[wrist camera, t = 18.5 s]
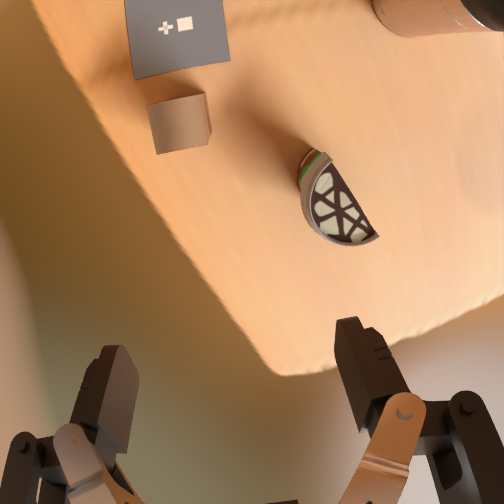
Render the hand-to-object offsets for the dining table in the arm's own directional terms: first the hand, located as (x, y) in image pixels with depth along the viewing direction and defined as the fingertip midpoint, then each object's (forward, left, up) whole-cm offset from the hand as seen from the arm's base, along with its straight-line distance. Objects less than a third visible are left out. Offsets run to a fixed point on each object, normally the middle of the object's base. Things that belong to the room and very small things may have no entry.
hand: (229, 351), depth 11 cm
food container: (-11, +6, -32) cm, 35 cm away
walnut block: (+4, -6, -32) cm, 33 cm away
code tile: (+4, -18, -32) cm, 37 cm away
